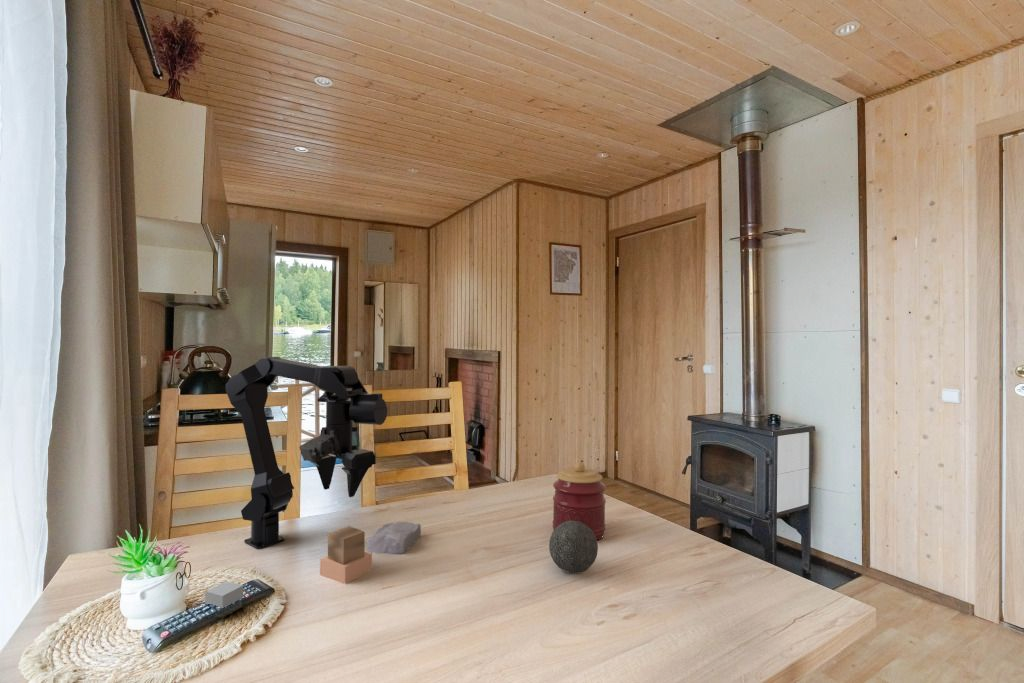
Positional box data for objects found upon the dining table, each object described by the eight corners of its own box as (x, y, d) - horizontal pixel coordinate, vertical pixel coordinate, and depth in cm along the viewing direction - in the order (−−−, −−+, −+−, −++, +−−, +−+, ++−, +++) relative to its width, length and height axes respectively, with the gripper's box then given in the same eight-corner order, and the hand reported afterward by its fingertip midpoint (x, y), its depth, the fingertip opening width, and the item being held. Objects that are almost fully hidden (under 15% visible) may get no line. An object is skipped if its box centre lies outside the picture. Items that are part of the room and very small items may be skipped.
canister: (613, 530, 125) (614, 460, 125) (592, 548, 114) (593, 471, 115) (566, 520, 132) (567, 453, 132) (543, 535, 121) (543, 463, 122)
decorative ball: (538, 570, 102) (539, 522, 103) (567, 556, 110) (568, 510, 110) (578, 587, 96) (579, 535, 96) (607, 570, 103) (607, 522, 103)
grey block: (204, 615, 84) (205, 591, 84) (225, 603, 88) (226, 581, 88) (222, 620, 83) (222, 595, 83) (242, 608, 87) (243, 585, 87)
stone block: (364, 560, 110) (406, 555, 109) (360, 538, 111) (402, 533, 109) (386, 542, 122) (424, 536, 121) (383, 522, 123) (421, 517, 121)
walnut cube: (327, 558, 100) (328, 533, 100) (348, 550, 104) (349, 526, 104) (343, 564, 97) (343, 539, 97) (364, 556, 101) (364, 531, 101)
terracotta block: (320, 576, 99) (320, 559, 99) (347, 563, 105) (347, 547, 105) (345, 585, 96) (345, 567, 96) (371, 571, 102) (371, 554, 102)
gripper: (282, 422, 110) (281, 493, 110) (332, 432, 99) (331, 511, 99) (327, 417, 119) (326, 482, 119) (378, 425, 108) (377, 497, 108)
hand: (338, 492), depth 111 cm, fingers open, 9 cm apart
